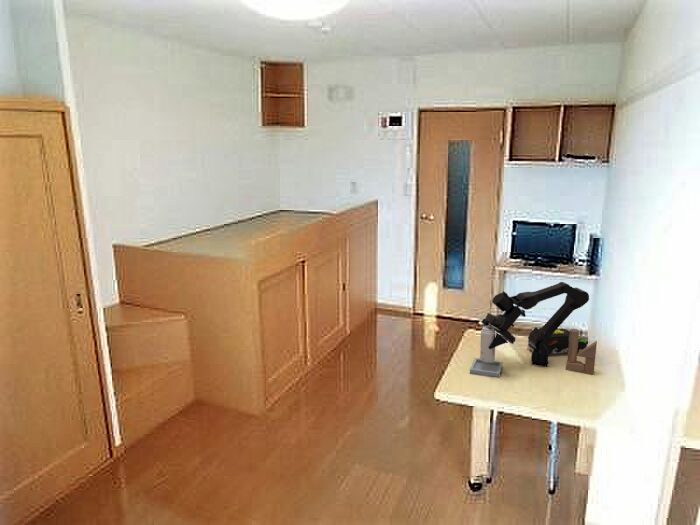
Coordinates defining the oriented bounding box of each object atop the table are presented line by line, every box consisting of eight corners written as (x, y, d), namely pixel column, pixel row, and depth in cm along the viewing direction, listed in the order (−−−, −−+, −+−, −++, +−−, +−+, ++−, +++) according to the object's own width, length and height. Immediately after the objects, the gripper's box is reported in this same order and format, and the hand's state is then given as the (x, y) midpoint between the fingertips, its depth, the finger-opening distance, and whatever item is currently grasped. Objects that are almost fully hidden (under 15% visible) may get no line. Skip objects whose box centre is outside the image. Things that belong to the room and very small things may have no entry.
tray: (502, 366, 225) (502, 362, 225) (498, 378, 214) (499, 373, 214) (474, 362, 230) (474, 358, 229) (469, 373, 219) (470, 369, 218)
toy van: (587, 353, 236) (589, 333, 234) (537, 358, 233) (539, 337, 230) (574, 344, 247) (576, 325, 244) (526, 349, 243) (527, 329, 241)
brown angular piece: (593, 375, 215) (597, 334, 211) (565, 369, 221) (569, 330, 216) (594, 371, 218) (598, 331, 214) (566, 366, 224) (570, 327, 219)
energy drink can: (481, 357, 225) (482, 324, 221) (495, 358, 223) (496, 326, 219) (479, 362, 219) (480, 329, 216) (493, 364, 217) (494, 331, 214)
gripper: (485, 300, 225) (462, 327, 225) (510, 313, 208) (485, 343, 207) (500, 315, 229) (478, 341, 229) (526, 329, 212) (501, 358, 211)
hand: (485, 345), depth 219 cm, fingers closed on energy drink can, 6 cm apart
